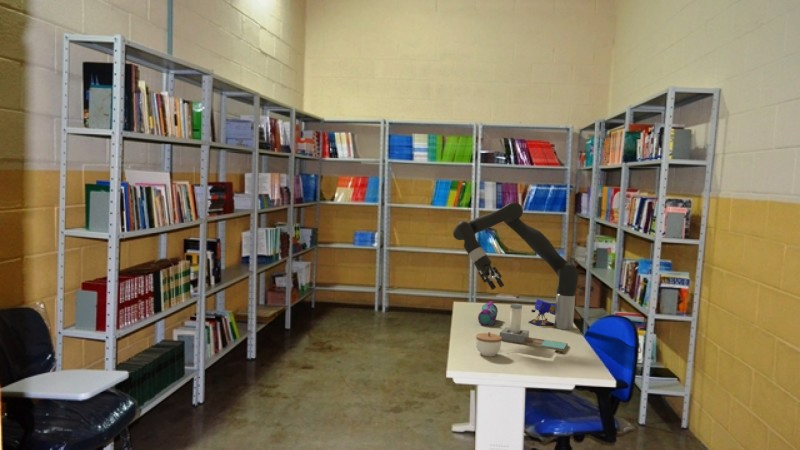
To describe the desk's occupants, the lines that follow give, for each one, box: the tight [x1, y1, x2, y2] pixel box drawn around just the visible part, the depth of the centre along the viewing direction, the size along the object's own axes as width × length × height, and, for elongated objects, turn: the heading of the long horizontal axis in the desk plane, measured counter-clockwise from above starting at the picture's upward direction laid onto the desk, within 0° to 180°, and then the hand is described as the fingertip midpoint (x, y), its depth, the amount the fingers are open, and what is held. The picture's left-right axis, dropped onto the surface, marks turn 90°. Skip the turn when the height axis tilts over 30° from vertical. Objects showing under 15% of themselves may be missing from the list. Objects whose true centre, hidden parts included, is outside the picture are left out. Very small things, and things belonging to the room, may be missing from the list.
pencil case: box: [477, 300, 499, 326], centre depth 295 cm, size 21×9×10 cm, turn 167°
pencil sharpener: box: [527, 299, 556, 329], centre depth 299 cm, size 14×18×13 cm
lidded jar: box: [475, 332, 502, 357], centre depth 241 cm, size 11×11×9 cm
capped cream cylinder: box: [508, 303, 523, 334], centre depth 262 cm, size 5×5×16 cm
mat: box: [541, 339, 567, 350], centre depth 255 cm, size 10×10×1 cm
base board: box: [501, 336, 569, 354], centre depth 260 cm, size 14×30×1 cm, turn 65°
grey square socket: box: [499, 326, 530, 345], centre depth 263 cm, size 11×11×4 cm
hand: (498, 287), depth 266 cm, fingers open, 8 cm apart
